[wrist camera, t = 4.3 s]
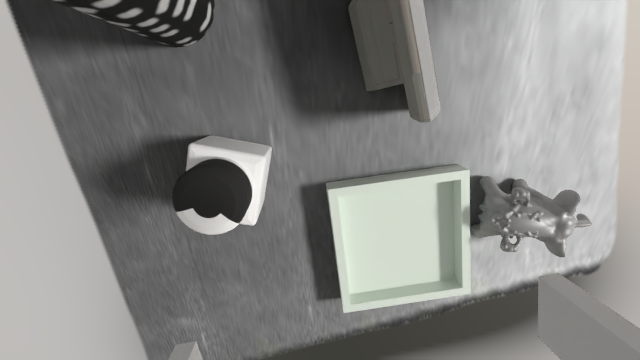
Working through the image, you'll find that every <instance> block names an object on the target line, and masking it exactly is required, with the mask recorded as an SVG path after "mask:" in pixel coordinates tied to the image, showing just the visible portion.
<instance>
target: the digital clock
mask: <svg viewBox="0 0 640 360" xmlns="http://www.w3.org/2000/svg"><path fill="white" fill-rule="evenodd" d="M399 6H400V7H399ZM348 10H349V15H350V19H351V24H352V28H353V33H354V37H355V42H356V46H357V51H358V55H359V60H360V64H361V68H362V73H363V77H364V82H365V86H366V91H374V90H379V89H383V88H387V87H391V86H395V85H399V84H404V87H405V92H406V97H407V102H408V107H409V113H410V117H411V118H413V119H414V120H417V121H419V122H431V121H432V120H433V119H434V118H435V117H436V116H437V114H438V113H439V112H440V103H439V101H440V99H439V93H438V87H437V81H436V75H435V69H434V63H433V57H432V51H431V44H430V38H429V32H428V26H427V20H426V14H425V8H424V2H423V0H352V1H351V3H350V5H349V7H348ZM401 17H402V18H401ZM403 28H404V29H403ZM404 33H405V34H404ZM406 44H407V45H406ZM408 55H409V56H408ZM410 66H411V67H410Z"/></svg>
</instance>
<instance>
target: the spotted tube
mask: <svg viewBox="0 0 640 360" xmlns="http://www.w3.org/2000/svg"><path fill="white" fill-rule="evenodd" d="M52 1H55V2H57V3H60V4H62V5H65V6H67V7H70V8H73V9H75V10H78V11H80V12H83V13H85V14H88V15H90V16H93V17H95V18H98V19H100V20H103V21H105V22H108V23H111V24H113V25H116V26H118V27H121V28H123V29H126V30H128V31H131V32H133V33H136V34H138V35H141V36H143V37H146V38H148V39H151V40H154V41H156V42H159V43H161V44H164V45H167V46H172V47H184V46H188V45H191V44H193V43H195V42H197V41H199V40H200V39H201V38H202V37H203V36H204V35H205V34H206V33H207V31H208V30H209V28H210V26H211V24H212V21H213V17H214V7H215V5H214V0H52Z"/></svg>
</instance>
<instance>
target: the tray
mask: <svg viewBox="0 0 640 360" xmlns="http://www.w3.org/2000/svg"><path fill="white" fill-rule="evenodd" d="M326 189H327V197H328V204H329V212H330V220H331V227H332V235H333V242H334V250H335V258H336V265H337V273H338V280H339V288H340V296H341V301H342V307H343V312H344V313H347V312H353V311H360V310H366V309H373V308H380V307H386V306H393V305H399V304H406V303H412V302H419V301H426V300H432V299H439V298H445V297H452V296H458V295H465V294H471V278H470V170H469V169H467V168H465V167H462V166H460V165H458V164H454V165H447V166H440V167H433V168H426V169H419V170H412V171H405V172H398V173H391V174H384V175H377V176H370V177H363V178H356V179H349V180H342V181H335V182H328V183H326Z"/></svg>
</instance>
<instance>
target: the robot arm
mask: <svg viewBox="0 0 640 360" xmlns="http://www.w3.org/2000/svg"><path fill="white" fill-rule="evenodd" d="M538 291H539V292H538V297H539V298H538V337H539V338H540V339H541V340H542V341H543V342H544V343H545V344H546V345H547V346H548V347H549V348H550V349H551V350H552V351H553V352H554V353H555V354H556V355H557V356H558V357H559V358H560V359H561V360H640V328H638V327H637V326H635V325H634V324H632V323H631V322H629V321H628V320H626V319H625V318H624V317H622V316H621V315H619V314H618V313H616V312H615V311H613V310H612V309H610V308H609V307H607V306H605V305H604V304H603V303H601V302H600V301H598V300H597V299H595V298H594V297H592V296H591V295H590V294H588V293H587V292H585V291H584V290H582V289H581V288H579V287H578V286H576V285H575V284H573V283H572V282H571V281H569V280H568V279H566V278H565V277H563V276H562V275H560V274H559V273H557V274H551V275H546V276H541V277H539V290H538ZM169 360H202V357H201V354H200V351H199V348H198V345H197V342H196V341H195V342H189V343H184V344H179V345H176V346H175V348H174V350H173V352H172V354H171V356H170V358H169Z"/></svg>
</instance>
